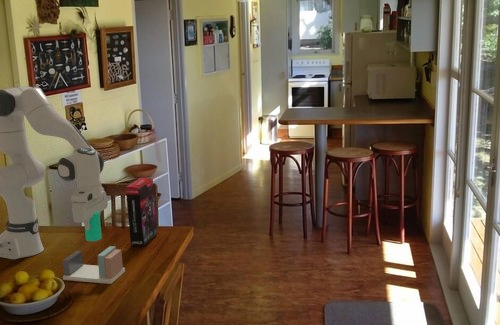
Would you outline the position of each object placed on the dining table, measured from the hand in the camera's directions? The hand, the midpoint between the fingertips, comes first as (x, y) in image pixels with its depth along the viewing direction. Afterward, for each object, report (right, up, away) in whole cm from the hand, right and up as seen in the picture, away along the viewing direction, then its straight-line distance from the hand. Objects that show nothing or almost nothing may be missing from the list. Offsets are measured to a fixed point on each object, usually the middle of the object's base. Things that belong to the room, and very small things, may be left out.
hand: (92, 226), depth 227 cm
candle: (0, -5, +1) cm, 5 cm away
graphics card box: (+12, -11, +42) cm, 45 cm away
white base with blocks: (0, -19, +5) cm, 20 cm away
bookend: (-9, -18, +6) cm, 21 cm away
